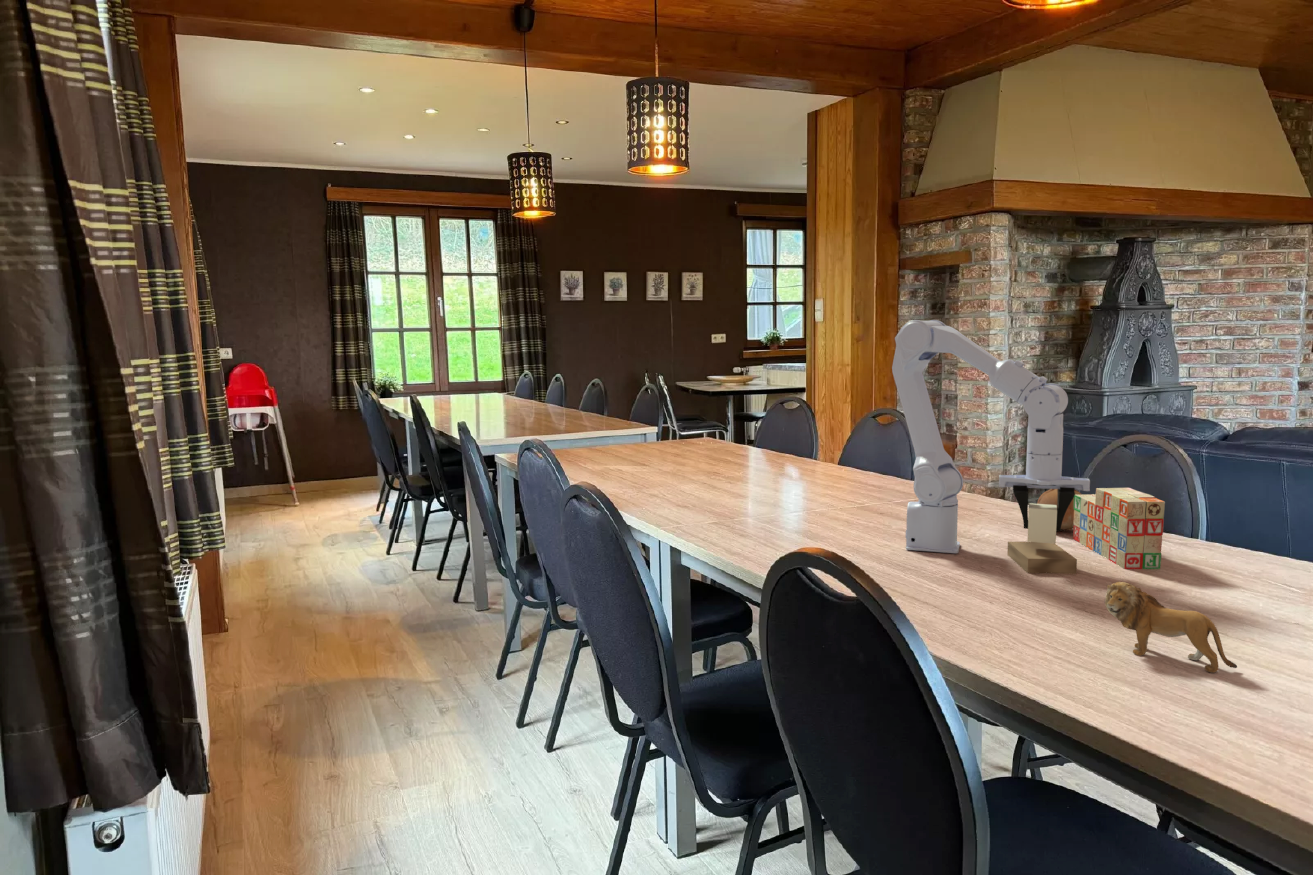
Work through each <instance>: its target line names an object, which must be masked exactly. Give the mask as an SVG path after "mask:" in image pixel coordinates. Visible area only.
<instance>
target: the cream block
mask: <svg viewBox="0 0 1313 875" xmlns="http://www.w3.org/2000/svg"><path fill="white" fill-rule="evenodd" d="M1056 525H1057V505H1048V504H1037V503H1032V502H1031V503H1030V502H1028V529H1027V540H1026V542H1040V543H1053V544H1056V543H1057V542H1056V540H1057V531H1056ZM1056 545H1057V544H1056Z"/></svg>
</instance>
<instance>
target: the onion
mask: <svg viewBox="0 0 1313 875" xmlns="http://www.w3.org/2000/svg"><path fill="white" fill-rule="evenodd" d="M1074 492H1075V495H1083V494H1082V493H1081V492H1080V491H1079V490H1075V491H1074ZM1057 496H1058V489H1046V491H1044V492H1043V493H1042V494H1040V496H1039V497H1038V499H1037V502H1036V504H1048V505H1057ZM1061 530H1062V531H1070V530H1074V498H1073V500H1072V501H1071V503H1070V505H1069V507H1068V509H1067V511H1066V513H1065V515H1064V518H1063V521H1062V525H1061Z"/></svg>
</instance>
